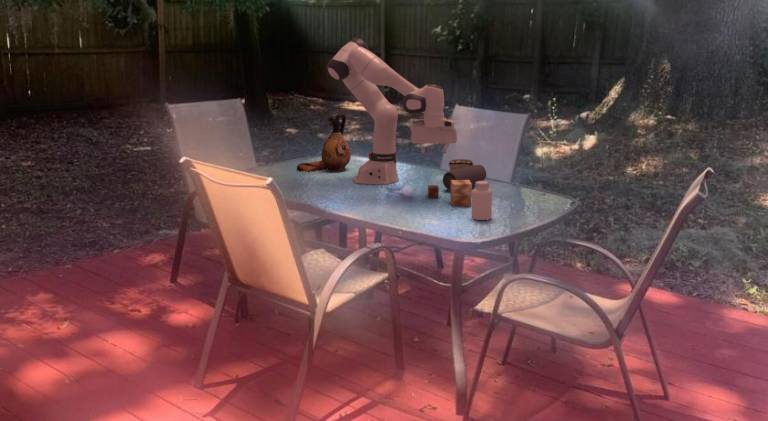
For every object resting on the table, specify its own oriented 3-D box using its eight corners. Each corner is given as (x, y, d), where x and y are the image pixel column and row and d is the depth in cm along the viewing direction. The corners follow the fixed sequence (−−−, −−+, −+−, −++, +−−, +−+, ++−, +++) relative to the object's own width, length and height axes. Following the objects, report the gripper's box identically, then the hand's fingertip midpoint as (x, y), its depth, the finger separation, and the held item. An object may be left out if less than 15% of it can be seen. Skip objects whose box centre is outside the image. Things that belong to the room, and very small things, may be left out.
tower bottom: (452, 206, 291) (452, 195, 290) (450, 202, 299) (450, 191, 298) (471, 206, 291) (471, 195, 290) (468, 201, 299) (469, 190, 298)
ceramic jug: (336, 174, 352) (334, 116, 343) (315, 170, 362) (314, 114, 353) (359, 169, 364) (358, 113, 355) (339, 165, 374) (337, 110, 365)
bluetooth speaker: (471, 182, 334) (472, 162, 331) (487, 185, 327) (487, 165, 325) (441, 190, 319) (441, 169, 316) (456, 193, 312) (457, 172, 309)
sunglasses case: (306, 172, 356) (301, 161, 357) (299, 177, 361) (295, 166, 362) (333, 167, 367) (329, 156, 368) (326, 172, 373) (322, 161, 374)
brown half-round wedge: (472, 178, 341) (473, 159, 338) (473, 181, 335) (473, 161, 332) (448, 178, 342) (448, 158, 339) (447, 181, 336) (448, 161, 333)
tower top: (452, 195, 290) (453, 184, 288) (450, 191, 297) (450, 180, 296) (471, 195, 290) (471, 184, 289) (468, 190, 298) (469, 179, 296)
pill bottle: (469, 216, 277) (470, 180, 273) (488, 215, 278) (490, 179, 274) (473, 221, 270) (474, 184, 266) (493, 221, 270) (494, 184, 266)
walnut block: (428, 198, 305) (428, 187, 303) (427, 196, 309) (428, 185, 307) (438, 198, 305) (438, 187, 303) (437, 196, 309) (438, 185, 307)
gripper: (410, 123, 295) (410, 154, 299) (457, 122, 295) (457, 154, 298) (410, 121, 301) (410, 152, 305) (456, 120, 301) (456, 151, 304)
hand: (433, 153), depth 302 cm, fingers open, 8 cm apart
